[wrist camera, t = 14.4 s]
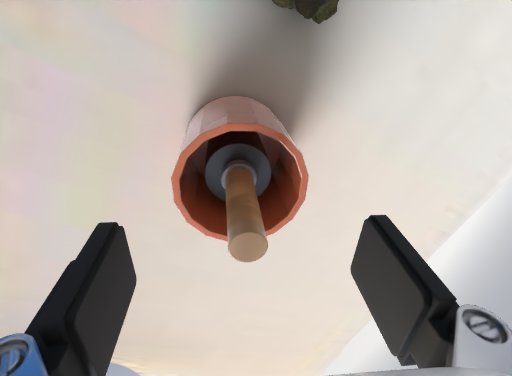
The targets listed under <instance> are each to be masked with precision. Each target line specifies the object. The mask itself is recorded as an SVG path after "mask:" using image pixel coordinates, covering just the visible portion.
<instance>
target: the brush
mask: <svg viewBox="0 0 512 376" xmlns="http://www.w3.org/2000/svg"><path fill="white" fill-rule="evenodd" d="M270 179H271V165H270V162H269V159H268V157H267V154H266V151H265V149H264V146H263V144H262V141H261V139H260V137H259V135H258V134H257V133H256V131H228V132H226V133H223V134H221V135H218V136H216V137H213V138H211V139H209V141H208V145H207V153H206V162H205V181H206V184H207V186H208V188H209V189H210V191H211V192H212V193H213V194H214V195H215V196H216V197H218V198H220V199H221V200H224V201H226V212H227V236H228V251H229V253H230V255H231V256H232V257H233V258H234V259H236V260H238V261H241V262H252V261H255V260H258V259H260V258H261V257H262V256H263V255H264V254H265V253H266V251H267V248H268V242H267V237H266V233H265V229H264V224H263V220H262V216H261V211H260V207H259V202H258V198H257V197H258V196H260V195H261V194H262V193H263V192H264V191H265V190H266V188H267V187H268V185H269V182H270Z"/></svg>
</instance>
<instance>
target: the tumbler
mask: <svg viewBox="0 0 512 376" xmlns="http://www.w3.org/2000/svg"><path fill="white" fill-rule="evenodd" d="M228 131H256V133H257V134H258V135H259V137H260V139H261V141H262V144H263V146H264V149H265V151H266V154H267V157H268V159H269V162H270V165H271V179H270V182H269V185H268V187H267V188H266V190H265V191H264V192H263V193H262V194H261V195H260V196H258V197H257V198H258V202H259V207H260V211H261V216H262V220H263V224H264V229H265V233H266V236H268V235H270V234H273V233H275V232H277V231H278V230H279V229H280V228H282V227H283V226H284V225H286V224H287V223H288V222H289V221H291V220H292V219H293V218H294V216H295V215H296V213H297V211H298V210H299V208H300V207H301V205H302V203H303V202H304V200H305V197H306V190H307V183H308V173H307V169H306V166H305V163H304V159H303V156H302V154H301V152H300V150H299V149H298V147H297V146H296V144H295V143H294V141H293V140H292V138H291V137H290V135H289V134H288V132H287V131H286V129H285V128H284V126H283V125H282V123H281V122H280V120H279V119H278V118H277V117H276V116H275V115H274V113H273V112H272V111H271V110H270V109H269V108H268V107H267V106H265V105H264V104H262V103H260V102H259V101H257V100H254V99H252V98H248V97H244V96H226V97H221V98H218V99H215V100H213V101H211V102H209V103H208V104H206V105H205V106H203V107H202V108H201V109H200V110H199V111H198V112H197V113H196V114H195V115H194V117H193V118H192V119H191V121H190V123H189V126H188V129H187V132H186V134H185V137H184V140H183V143H182V146H181V150H180V153H179V156H178V159H177V162H176V165H175V168H174V171H173V174H172V178H171V181H172V189H173V197H174V203H175V204H176V206H177V208H178V209H179V211H180V212H181V214H182V215H183V217H184V219H185V220H186V222H187V223H189V224H190V225H192V226H193V227H194V228H196V229H197V230H199V231H200V232H201V233H203V234H204V235H206V236H209V237H213V238H216V239H220V240H224V241H227V242H228V236H227V212H226V201H224V200H221V199H220V198H218V197H216V196H215V195H214V194H213V193H212V192H211V191H210V189H209V188H208V186H207V184H206V181H205V162H206V153H207V145H208V141H209V139H211V138H213V137H216V136H218V135H221V134H223V133H226V132H228Z"/></svg>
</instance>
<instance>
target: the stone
mask: <svg viewBox="0 0 512 376" xmlns="http://www.w3.org/2000/svg"><path fill="white" fill-rule="evenodd" d="M272 1H273V2H274V3H275V4H276V5H278V6H280V7H283V8H290V9H293V8H295V9H296V10H297V11H298V12H299V14H301V15H303V16H304V18H307V19H309V18H312V19H313V20H314V21H315V22H316V23H318V24H319V23H321V22H322V21H324V20H327V19H328V18H330V17H331V16H332V15H334V14H335V13H336V12H337V4H338V1H339V0H272Z"/></svg>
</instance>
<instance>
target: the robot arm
mask: <svg viewBox="0 0 512 376" xmlns="http://www.w3.org/2000/svg"><path fill="white" fill-rule="evenodd" d="M351 274H352V276H353V278H354V280H355V282H356V284H357V286H358V288H359V290H360V292H361V294H362V296H363V298H364V300H365V302H366V304H367V306H368V308H369V310H370V312H371V314H372V316H373V318H374V320H375V322H376V324H377V326H378V328H379V330H380V332H381V334H382V336H383V338H384V340H385V342H386V344H387V346H388V348H389V350H390V352H391V353H392V354H393V355H394V356H397V358H398V360H399V362H400V364H401V366H407V365H416V364H417V366H418V368H419V369H406V370H390V371H378V372H366V373H354V374H342V375H331V376H512V331H511V329H510V328H509V327H508V325H507V324H506V323H505V322H504V321H503V320H502V319H501V318H499V317H498V316H496V315H495V314H494V313H492V312H490V311H488V310H486V309H485V308H482V307H479V306H476V305H469V304H468V305H462V306H461V307H460V306H459V305H458V304H457V302H456V298H455V297H454V295H453V294H452V293H451V292H450V291H449V289H448V288H447V287H446V286H445V285H444V283H443V282H442V281H441V280H440V279H439V278H438V276H437V275H436V274H435V273H434V272H433V270H432V269H431V268H430V267H429V266H428V264H427V263H426V262H425V261H424V260H423V258H422V257H421V256H420V255H419V254H418V252H417V251H416V250H415V249H414V248H413V246H412V245H411V244H410V243H409V242H408V241H407V239H406V238H405V237H404V236H403V235H402V233H401V232H400V231H399V230H398V229H397V227H396V226H395V225H394V224H393V223H392V221H391V220H390V219H389V218H388V217H387V216H386V215H371V216H369V218H368V219H366V220H365V221H364V224H363V227H362V231H361V234H360V237H359V241H358V244H357V248H356V251H355V254H354V258H353V261H352V264H351ZM135 286H136V274H135V270H134V266H133V262H132V258H131V255H130V251H129V247H128V243H127V239H126V235H125V231H124V228H123V226H119V225H118V223H116V222H107V223H99V224H98V225H97V226H96V228H95V229H94V231H93V233H92V234H91V236H90V237H89V239H88V240H87V242H86V244H85V245H84V247H83V248H82V250H81V252H80V253H79V255H78V256H77V258H76V260H73V261H72V262H70V264H69V265H68V266H67V268H66V269H65V271H64V272H63V274H62V275H61V277H60V278H59V280H58V282H57V283H56V285H55V286H54V288H53V289H52V291H51V292H50V294H49V295H48V297H47V299H46V300H45V302H44V303H43V305H42V306H41V308H40V309H39V311H38V313H37V314H36V316H35V317H34V319H33V320H32V322H31V323H30V325H29V327H28V328H27V330H26V331H25V333H24V334H18V333H17V334H13V335H9V336H6V337H3V338H1V339H0V376H105V375H106V372H107V369H108V367H109V364H110V361H111V358H112V355H113V352H114V349H115V346H116V343H117V340H118V337H119V334H120V331H121V328H122V325H123V322H124V319H125V316H126V313H127V310H128V307H129V304H130V301H131V298H132V295H133V292H134V289H135ZM329 376H330V375H329Z"/></svg>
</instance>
